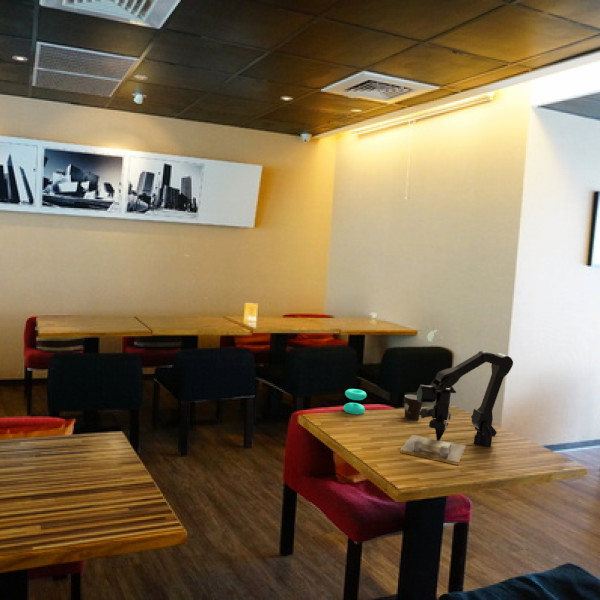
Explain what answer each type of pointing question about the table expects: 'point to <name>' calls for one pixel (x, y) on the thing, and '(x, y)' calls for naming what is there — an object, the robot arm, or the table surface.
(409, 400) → the coffee mug
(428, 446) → the maple plate
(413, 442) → the bench board
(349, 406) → the donuts
